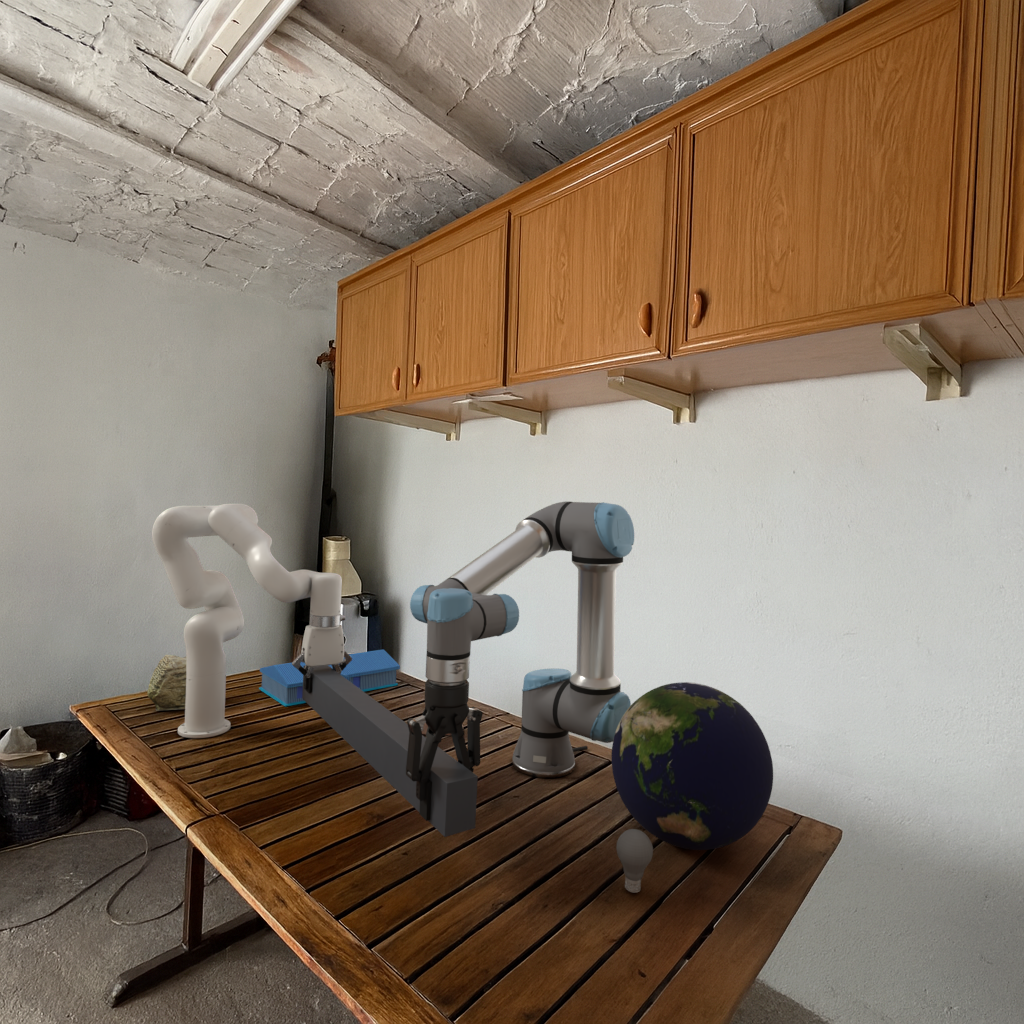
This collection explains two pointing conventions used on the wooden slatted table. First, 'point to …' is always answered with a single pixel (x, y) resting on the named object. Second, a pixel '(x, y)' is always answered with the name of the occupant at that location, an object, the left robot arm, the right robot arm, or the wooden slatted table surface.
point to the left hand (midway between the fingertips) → (321, 689)
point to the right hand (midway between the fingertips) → (442, 811)
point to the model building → (361, 671)
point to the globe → (692, 766)
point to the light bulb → (634, 857)
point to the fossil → (169, 683)
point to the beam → (393, 749)
